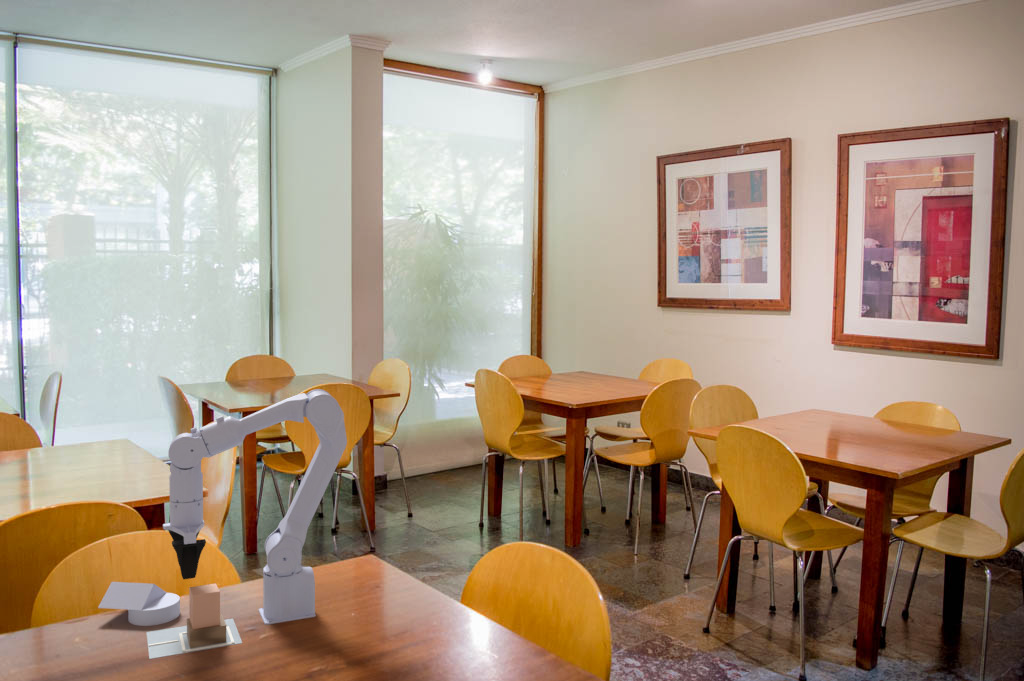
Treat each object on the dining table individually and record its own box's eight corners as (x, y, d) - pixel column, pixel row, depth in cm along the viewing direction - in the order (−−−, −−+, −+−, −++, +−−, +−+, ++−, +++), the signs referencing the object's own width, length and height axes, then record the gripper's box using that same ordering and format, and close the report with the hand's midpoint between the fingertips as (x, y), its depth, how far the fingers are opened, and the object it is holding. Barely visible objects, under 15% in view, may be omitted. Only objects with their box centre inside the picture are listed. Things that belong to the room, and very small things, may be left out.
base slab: (222, 629, 149) (221, 613, 149) (226, 642, 143) (226, 625, 143) (186, 635, 146) (186, 618, 146) (189, 648, 141) (189, 631, 140)
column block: (216, 615, 147) (215, 583, 147) (220, 624, 143) (219, 591, 143) (189, 620, 145) (189, 587, 145) (193, 629, 141) (192, 595, 141)
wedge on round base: (98, 625, 151) (164, 629, 150) (97, 590, 151) (164, 593, 149) (125, 607, 160) (188, 610, 159) (125, 573, 159) (188, 576, 158)
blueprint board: (233, 620, 154) (232, 617, 154) (242, 645, 143) (242, 642, 143) (146, 634, 147) (146, 631, 147) (149, 661, 136) (149, 657, 136)
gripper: (160, 492, 154) (161, 562, 155) (165, 510, 141) (166, 587, 142) (200, 489, 157) (200, 557, 158) (208, 506, 144) (208, 581, 145)
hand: (187, 571), depth 150 cm, fingers open, 7 cm apart
